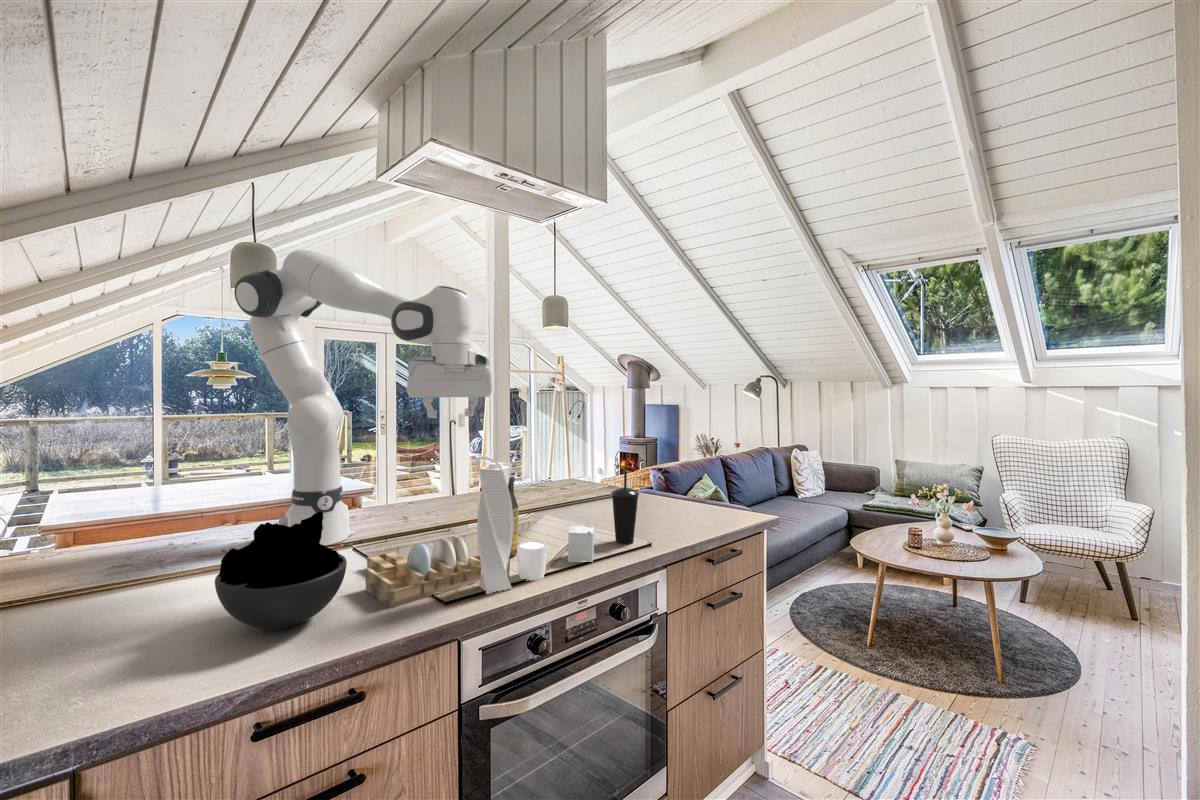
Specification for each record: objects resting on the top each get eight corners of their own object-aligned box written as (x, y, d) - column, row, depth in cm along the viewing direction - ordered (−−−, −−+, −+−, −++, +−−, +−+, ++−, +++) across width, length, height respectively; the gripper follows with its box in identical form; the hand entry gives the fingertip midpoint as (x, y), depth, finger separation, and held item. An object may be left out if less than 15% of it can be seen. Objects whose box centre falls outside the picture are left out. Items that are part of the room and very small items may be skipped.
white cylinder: (510, 576, 119) (510, 545, 119) (533, 568, 124) (534, 538, 124) (529, 584, 114) (530, 552, 114) (553, 575, 119) (553, 545, 119)
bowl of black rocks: (215, 665, 81) (213, 542, 80) (215, 617, 97) (213, 514, 96) (357, 630, 92) (357, 523, 92) (336, 592, 108) (335, 501, 108)
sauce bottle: (512, 560, 129) (513, 479, 129) (488, 558, 131) (488, 477, 130) (521, 551, 136) (522, 474, 135) (498, 549, 137) (499, 473, 136)
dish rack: (365, 590, 110) (365, 547, 110) (452, 567, 124) (453, 528, 124) (390, 608, 101) (390, 561, 101) (481, 581, 116) (481, 540, 115)
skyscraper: (481, 597, 107) (482, 459, 106) (469, 585, 113) (470, 454, 112) (518, 590, 111) (519, 456, 110) (505, 578, 117) (505, 452, 116)
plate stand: (367, 568, 122) (367, 556, 122) (392, 562, 126) (392, 551, 126) (386, 581, 115) (386, 568, 115) (412, 574, 119) (412, 562, 119)
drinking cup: (620, 536, 150) (621, 465, 150) (643, 541, 146) (644, 468, 145) (605, 542, 144) (605, 469, 144) (628, 548, 140) (629, 472, 139)
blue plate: (403, 574, 114) (412, 538, 114) (408, 574, 115) (417, 538, 115) (419, 590, 108) (429, 552, 108) (424, 589, 109) (434, 552, 109)
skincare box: (570, 554, 134) (570, 525, 134) (594, 555, 134) (594, 526, 134) (567, 562, 128) (567, 532, 128) (592, 563, 128) (593, 533, 128)
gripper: (414, 355, 113) (414, 419, 114) (495, 358, 128) (495, 416, 128) (401, 355, 118) (401, 418, 118) (481, 359, 132) (481, 414, 133)
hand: (451, 417), depth 123 cm, fingers open, 8 cm apart
